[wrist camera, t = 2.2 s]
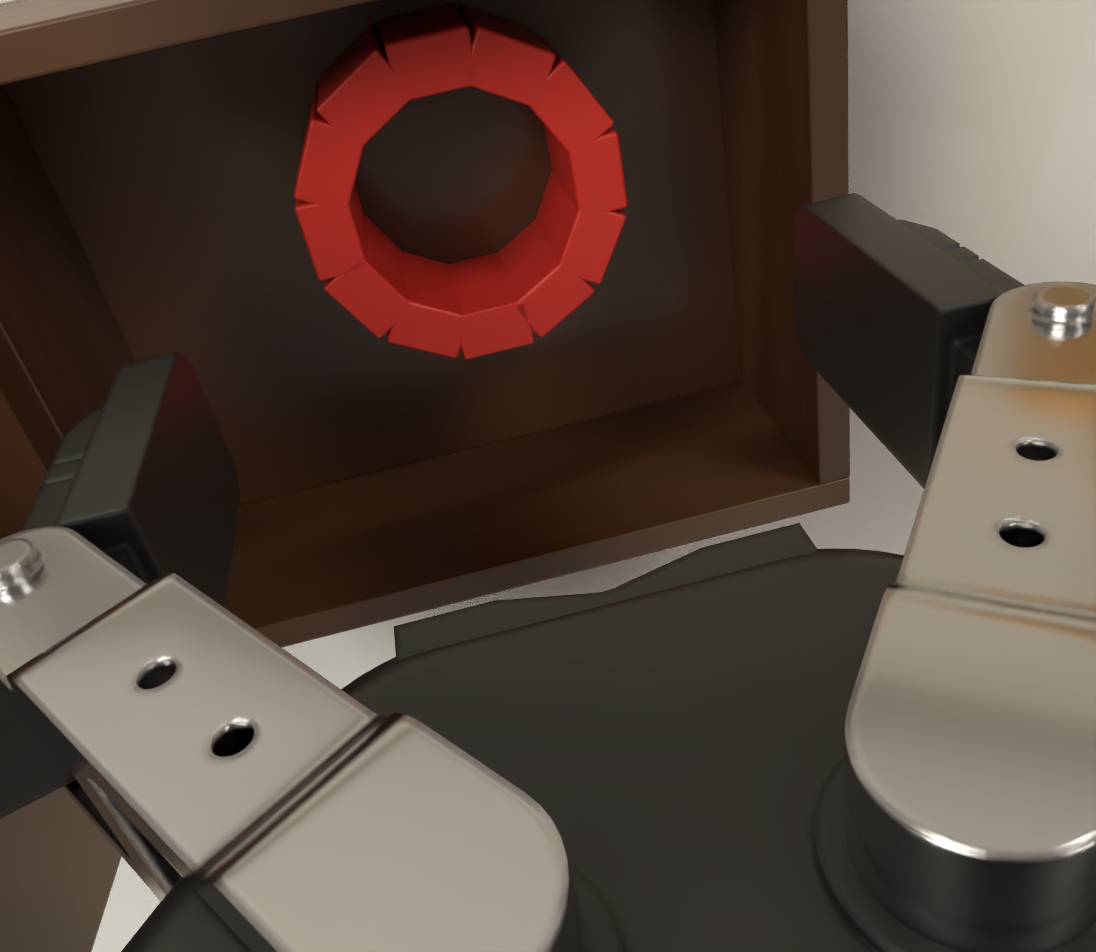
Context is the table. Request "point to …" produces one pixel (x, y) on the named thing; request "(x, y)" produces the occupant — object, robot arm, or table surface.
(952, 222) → the table surface
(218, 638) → the robot arm
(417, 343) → the ring
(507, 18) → the box
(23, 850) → the lid
